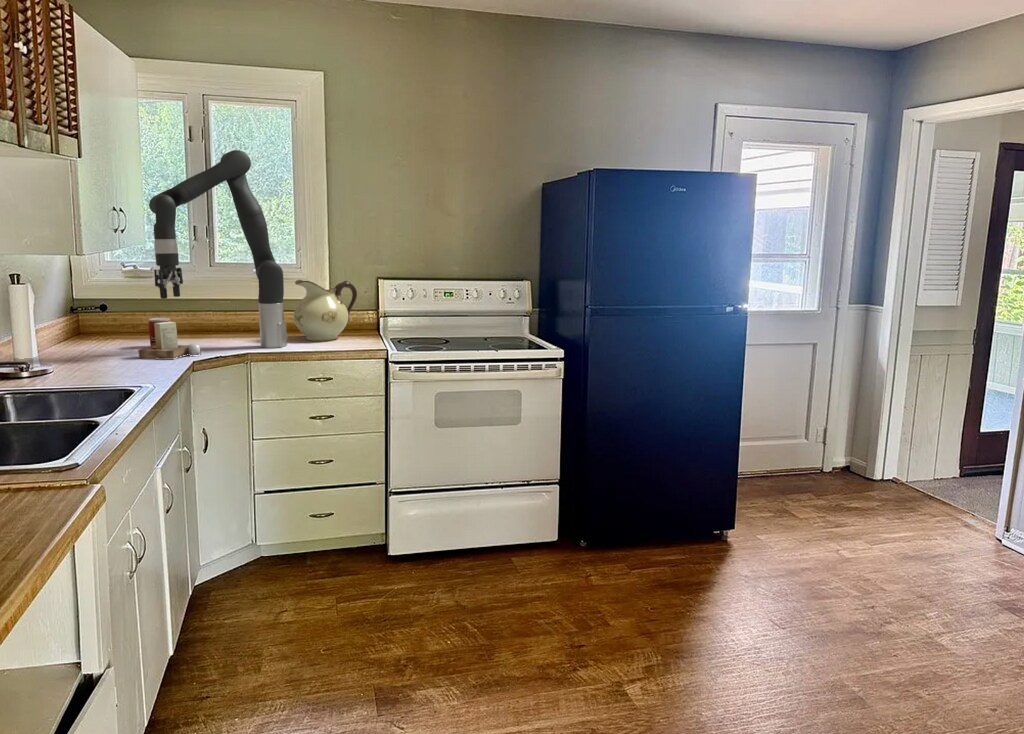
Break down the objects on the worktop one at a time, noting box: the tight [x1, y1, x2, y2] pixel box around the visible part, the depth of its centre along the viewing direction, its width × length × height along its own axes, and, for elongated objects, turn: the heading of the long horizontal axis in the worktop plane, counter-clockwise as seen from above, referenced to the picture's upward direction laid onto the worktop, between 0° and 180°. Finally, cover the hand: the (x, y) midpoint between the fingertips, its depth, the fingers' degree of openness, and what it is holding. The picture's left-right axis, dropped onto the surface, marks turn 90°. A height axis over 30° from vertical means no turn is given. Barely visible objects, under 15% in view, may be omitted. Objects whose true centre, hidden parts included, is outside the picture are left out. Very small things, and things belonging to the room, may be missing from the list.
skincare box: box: [154, 321, 179, 350], centre depth 270 cm, size 6×4×12 cm
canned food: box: [148, 317, 171, 347], centre depth 292 cm, size 8×8×11 cm
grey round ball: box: [188, 343, 201, 356], centre depth 272 cm, size 4×4×4 cm
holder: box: [138, 344, 190, 359], centre depth 271 cm, size 13×14×3 cm
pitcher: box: [293, 279, 358, 342], centre depth 317 cm, size 22×24×25 cm
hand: (170, 297), depth 271 cm, fingers open, 8 cm apart
